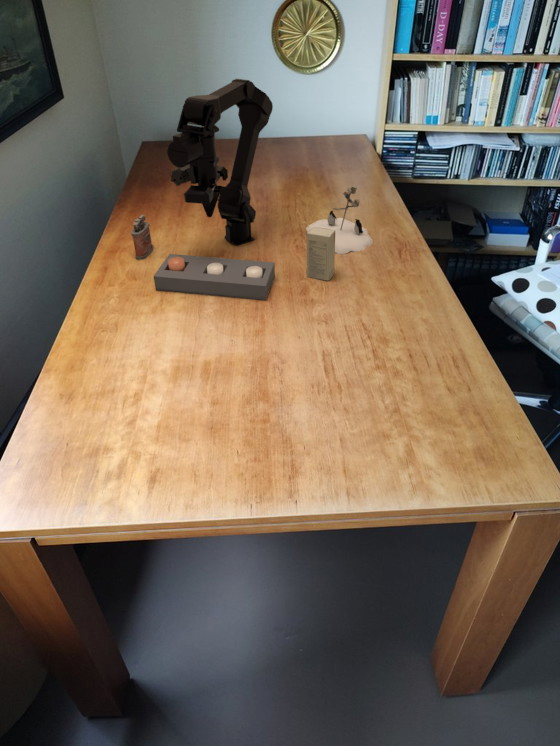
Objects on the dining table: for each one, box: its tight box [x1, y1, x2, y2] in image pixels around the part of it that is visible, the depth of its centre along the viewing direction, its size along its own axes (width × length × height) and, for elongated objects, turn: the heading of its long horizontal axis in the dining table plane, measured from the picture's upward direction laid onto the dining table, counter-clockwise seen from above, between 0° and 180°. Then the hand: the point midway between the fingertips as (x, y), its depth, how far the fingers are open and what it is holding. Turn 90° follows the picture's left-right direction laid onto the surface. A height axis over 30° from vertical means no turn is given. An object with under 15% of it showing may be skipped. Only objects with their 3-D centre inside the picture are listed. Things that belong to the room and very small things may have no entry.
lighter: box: [130, 214, 154, 261], centre depth 150 cm, size 8×3×10 cm, turn 168°
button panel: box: [153, 253, 276, 301], centre depth 138 cm, size 28×12×4 cm, turn 80°
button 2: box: [246, 266, 263, 278], centre depth 137 cm, size 4×4×4 cm
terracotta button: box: [168, 257, 185, 271], centre depth 139 cm, size 4×4×4 cm
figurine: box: [305, 184, 374, 255], centre depth 154 cm, size 20×18×16 cm
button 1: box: [207, 263, 224, 275], centre depth 138 cm, size 4×4×4 cm
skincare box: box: [306, 227, 336, 282], centre depth 139 cm, size 6×4×12 cm
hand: (209, 216), depth 142 cm, fingers closed
